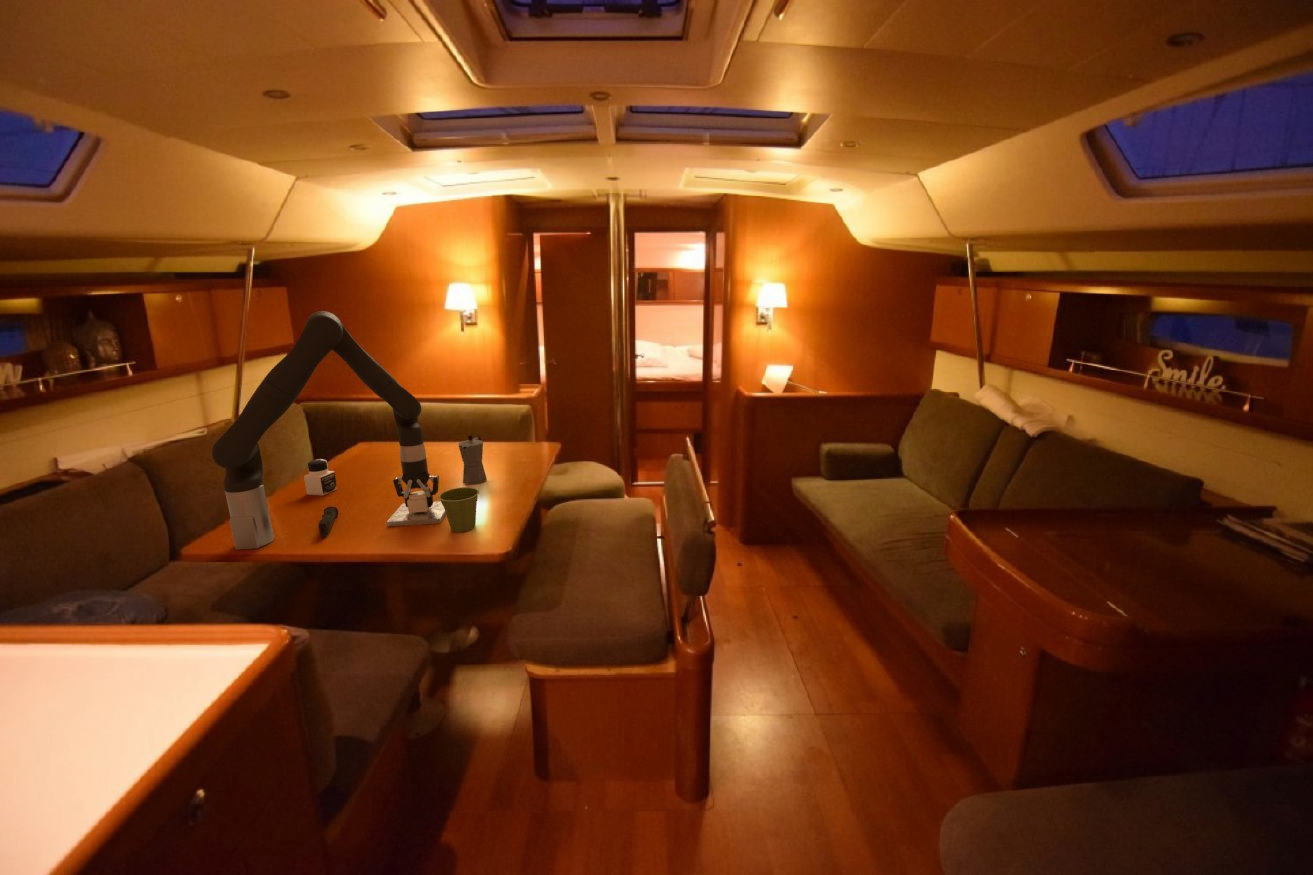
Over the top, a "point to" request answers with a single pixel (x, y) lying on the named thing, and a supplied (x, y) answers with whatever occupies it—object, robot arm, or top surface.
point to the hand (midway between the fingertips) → (419, 507)
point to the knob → (417, 502)
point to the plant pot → (460, 507)
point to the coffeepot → (472, 461)
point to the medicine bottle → (319, 478)
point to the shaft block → (417, 516)
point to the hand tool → (327, 520)
